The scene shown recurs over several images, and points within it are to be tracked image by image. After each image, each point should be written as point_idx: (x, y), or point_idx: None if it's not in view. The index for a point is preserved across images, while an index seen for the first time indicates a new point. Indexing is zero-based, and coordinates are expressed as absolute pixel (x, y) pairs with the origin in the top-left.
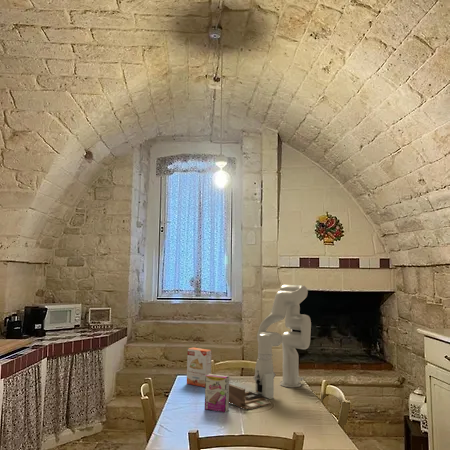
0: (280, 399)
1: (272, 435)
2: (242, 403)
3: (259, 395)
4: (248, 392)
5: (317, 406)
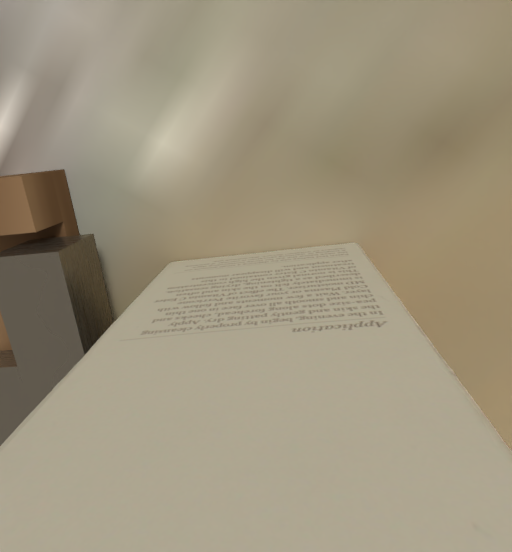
0: None
1: None
2: None
3: None
4: (16, 225)
5: None
